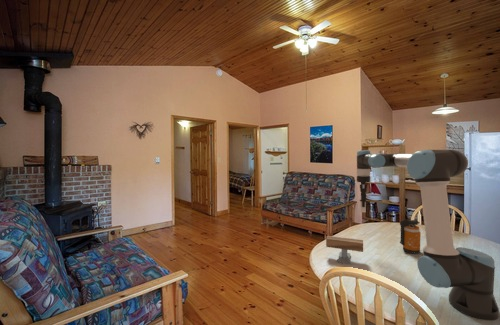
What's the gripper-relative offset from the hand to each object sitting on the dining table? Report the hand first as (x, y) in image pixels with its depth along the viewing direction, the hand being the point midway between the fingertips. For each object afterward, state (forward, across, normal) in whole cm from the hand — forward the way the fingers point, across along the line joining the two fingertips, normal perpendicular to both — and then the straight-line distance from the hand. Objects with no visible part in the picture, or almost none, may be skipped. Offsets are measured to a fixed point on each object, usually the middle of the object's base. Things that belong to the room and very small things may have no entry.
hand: (363, 209), depth 153 cm
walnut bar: (+20, -15, +10) cm, 27 cm away
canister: (+27, +11, -27) cm, 39 cm away
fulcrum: (+27, -15, +10) cm, 32 cm away
